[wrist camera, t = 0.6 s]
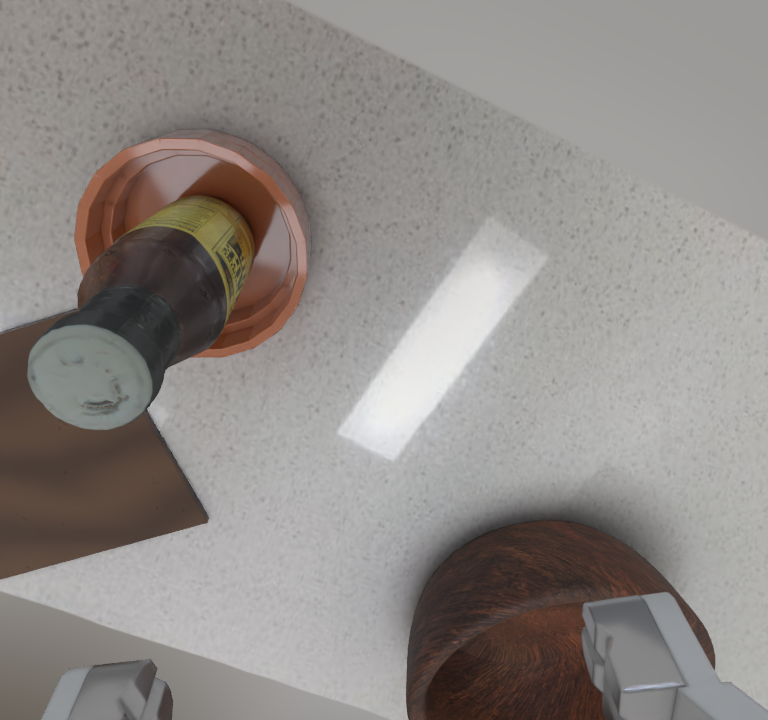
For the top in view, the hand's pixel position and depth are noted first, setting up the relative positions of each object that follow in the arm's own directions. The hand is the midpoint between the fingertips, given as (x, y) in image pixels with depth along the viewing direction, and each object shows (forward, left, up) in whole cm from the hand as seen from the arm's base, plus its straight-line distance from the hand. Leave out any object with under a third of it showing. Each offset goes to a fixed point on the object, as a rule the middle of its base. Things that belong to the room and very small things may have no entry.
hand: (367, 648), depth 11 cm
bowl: (-2, -9, -30) cm, 31 cm away
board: (+10, -29, -30) cm, 43 cm away
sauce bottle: (-2, -9, -30) cm, 31 cm away
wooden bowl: (+39, +5, -30) cm, 49 cm away
